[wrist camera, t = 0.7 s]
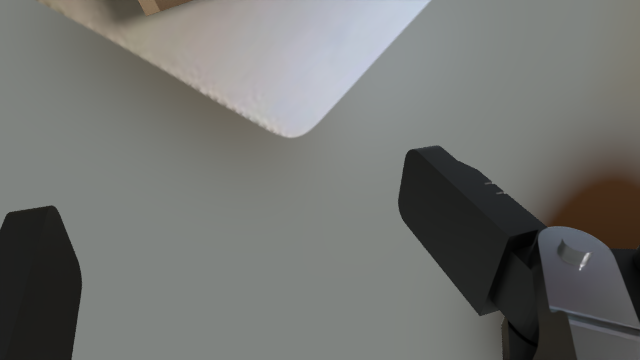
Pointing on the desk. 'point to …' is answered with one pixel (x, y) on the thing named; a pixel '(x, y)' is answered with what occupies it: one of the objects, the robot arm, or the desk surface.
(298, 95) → the desk surface
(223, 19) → the desk surface
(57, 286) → the robot arm
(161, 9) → the wooden tray with block
